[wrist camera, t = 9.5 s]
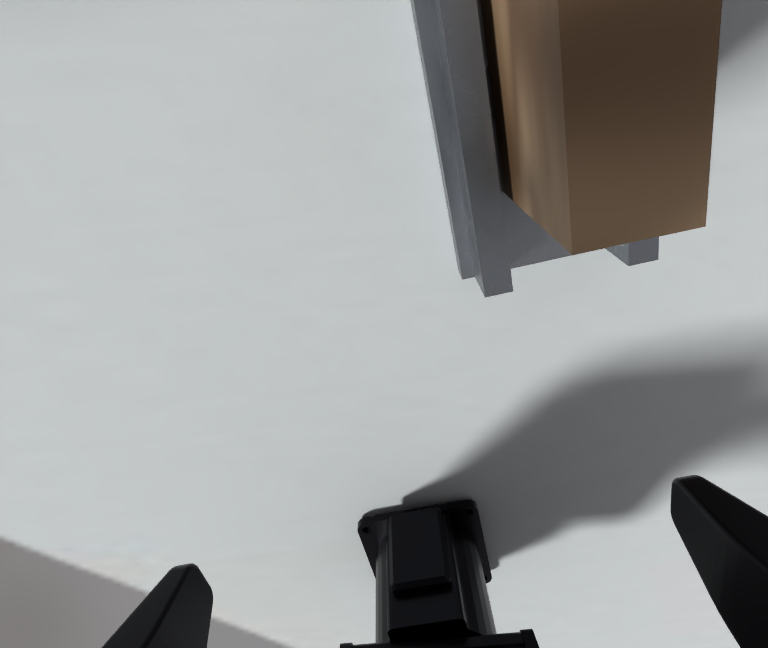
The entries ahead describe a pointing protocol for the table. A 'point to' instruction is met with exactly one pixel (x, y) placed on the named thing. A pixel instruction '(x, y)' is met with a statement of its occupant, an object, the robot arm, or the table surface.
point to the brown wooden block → (604, 114)
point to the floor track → (480, 153)
